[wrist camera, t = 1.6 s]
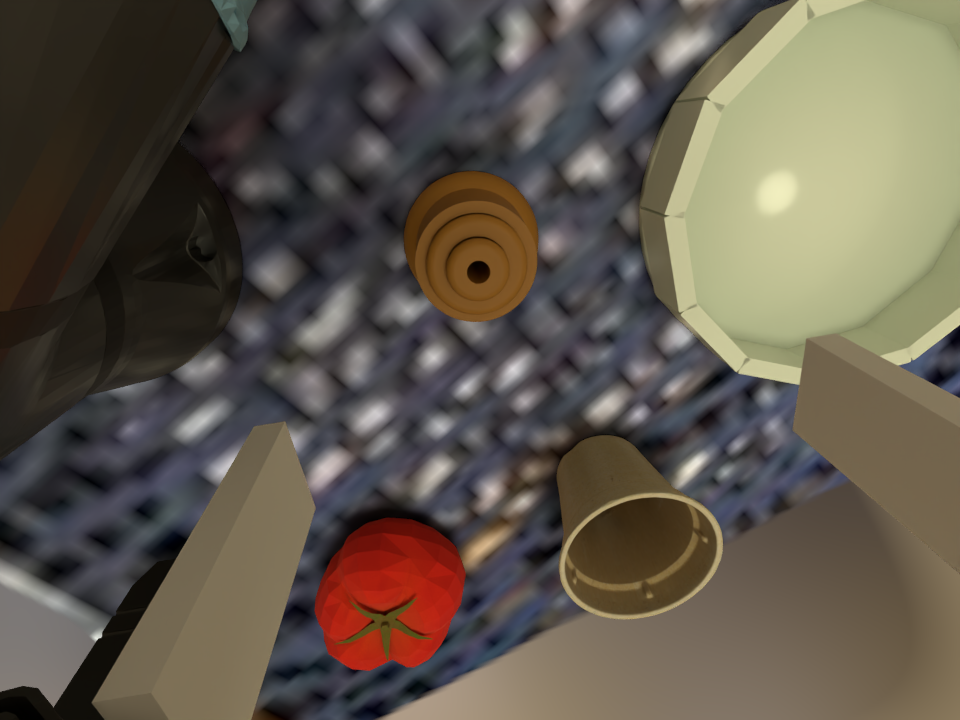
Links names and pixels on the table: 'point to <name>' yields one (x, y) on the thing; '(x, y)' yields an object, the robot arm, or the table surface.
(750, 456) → the table surface
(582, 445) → the flower pot
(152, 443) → the table surface
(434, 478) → the table surface
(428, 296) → the ornamental finial
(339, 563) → the tomato
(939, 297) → the bowl
